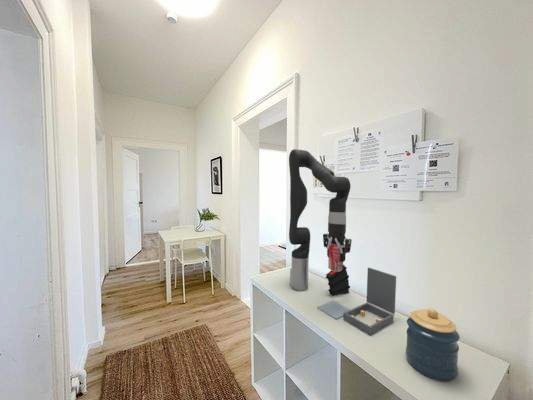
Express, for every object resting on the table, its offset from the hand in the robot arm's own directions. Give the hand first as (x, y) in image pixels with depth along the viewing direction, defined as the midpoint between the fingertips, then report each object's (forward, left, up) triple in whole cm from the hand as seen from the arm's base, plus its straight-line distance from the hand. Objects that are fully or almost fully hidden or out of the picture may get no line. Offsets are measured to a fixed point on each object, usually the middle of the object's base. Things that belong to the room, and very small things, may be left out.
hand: (335, 259), depth 99 cm
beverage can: (0, 0, -5) cm, 5 cm away
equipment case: (+13, +5, -23) cm, 27 cm away
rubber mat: (0, 0, -23) cm, 23 cm away
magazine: (-10, +14, -23) cm, 29 cm away
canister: (+37, 0, -23) cm, 44 cm away
